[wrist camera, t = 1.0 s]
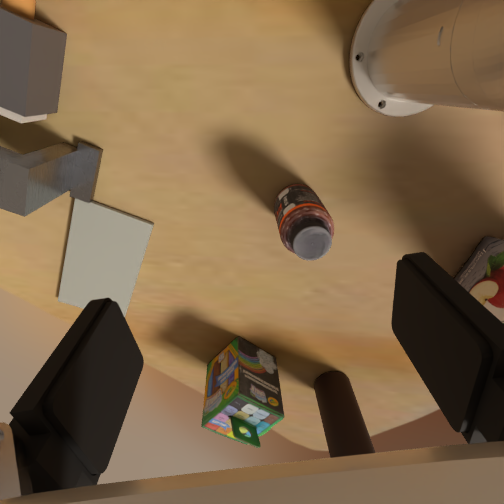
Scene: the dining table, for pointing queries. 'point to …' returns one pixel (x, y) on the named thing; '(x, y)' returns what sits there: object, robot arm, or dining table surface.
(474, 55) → the robot arm
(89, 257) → the pad
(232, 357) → the chalk box
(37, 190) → the housing
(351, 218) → the dining table surface
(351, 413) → the vinegar
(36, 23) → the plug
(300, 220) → the supplement bottle
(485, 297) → the juice carton
